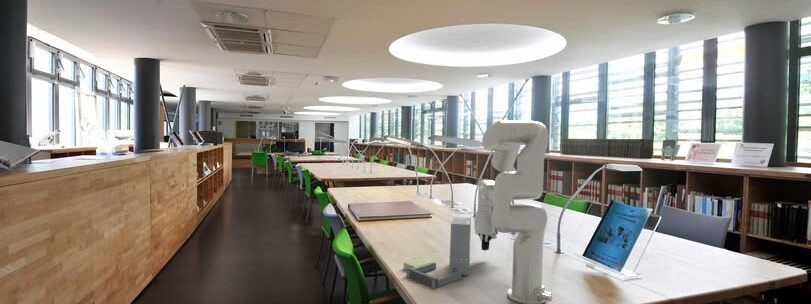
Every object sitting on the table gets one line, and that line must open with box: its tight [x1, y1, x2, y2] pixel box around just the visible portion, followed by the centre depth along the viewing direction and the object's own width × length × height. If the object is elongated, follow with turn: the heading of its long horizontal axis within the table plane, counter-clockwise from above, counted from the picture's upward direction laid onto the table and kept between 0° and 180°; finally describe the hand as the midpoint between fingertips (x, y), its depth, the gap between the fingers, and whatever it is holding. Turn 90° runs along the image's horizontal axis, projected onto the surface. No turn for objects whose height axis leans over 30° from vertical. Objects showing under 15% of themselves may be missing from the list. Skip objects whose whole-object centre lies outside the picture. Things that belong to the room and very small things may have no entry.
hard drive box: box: [448, 216, 472, 276], centre depth 155 cm, size 16×8×20 cm, turn 168°
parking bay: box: [406, 261, 463, 289], centre depth 145 cm, size 15×14×3 cm
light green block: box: [403, 257, 434, 271], centre depth 155 cm, size 7×10×3 cm
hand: (485, 249), depth 167 cm, fingers closed
